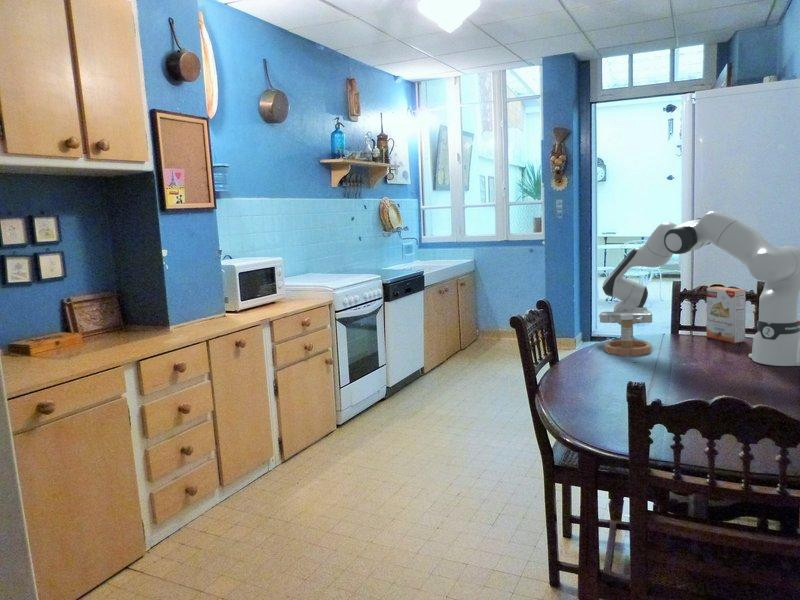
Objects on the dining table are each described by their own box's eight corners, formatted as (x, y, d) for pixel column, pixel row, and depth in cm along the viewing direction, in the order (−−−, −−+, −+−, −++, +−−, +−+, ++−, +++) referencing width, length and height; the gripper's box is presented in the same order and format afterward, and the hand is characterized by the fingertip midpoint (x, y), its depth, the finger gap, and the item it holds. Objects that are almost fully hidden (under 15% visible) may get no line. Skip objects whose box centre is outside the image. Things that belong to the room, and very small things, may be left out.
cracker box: (705, 337, 246) (705, 287, 243) (717, 336, 248) (717, 285, 245) (733, 343, 233) (734, 290, 230) (745, 342, 234) (746, 289, 232)
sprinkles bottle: (626, 346, 236) (625, 312, 234) (636, 348, 232) (635, 313, 230) (618, 348, 233) (617, 314, 232) (628, 349, 230) (627, 315, 228)
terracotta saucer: (624, 344, 244) (624, 338, 244) (660, 350, 230) (660, 344, 230) (596, 350, 236) (595, 344, 235) (631, 357, 222) (631, 351, 221)
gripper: (598, 307, 254) (598, 313, 241) (650, 307, 248) (653, 313, 235) (599, 322, 255) (598, 328, 242) (650, 322, 249) (653, 328, 236)
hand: (626, 320), depth 239 cm, fingers open, 8 cm apart
